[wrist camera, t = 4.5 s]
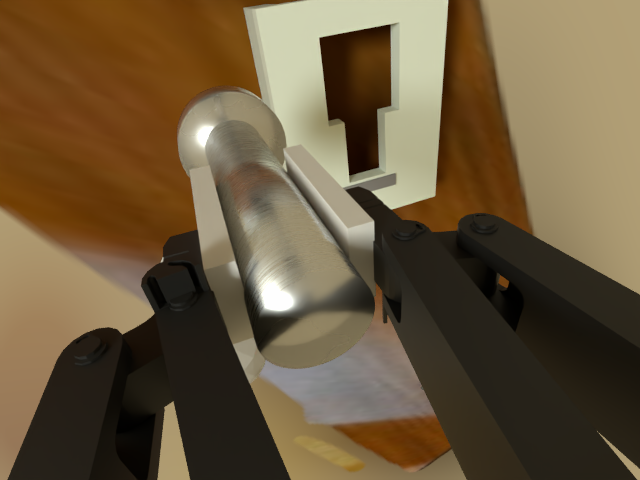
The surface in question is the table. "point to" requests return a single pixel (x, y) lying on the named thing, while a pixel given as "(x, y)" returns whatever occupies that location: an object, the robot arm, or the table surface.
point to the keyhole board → (393, 122)
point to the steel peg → (274, 233)
